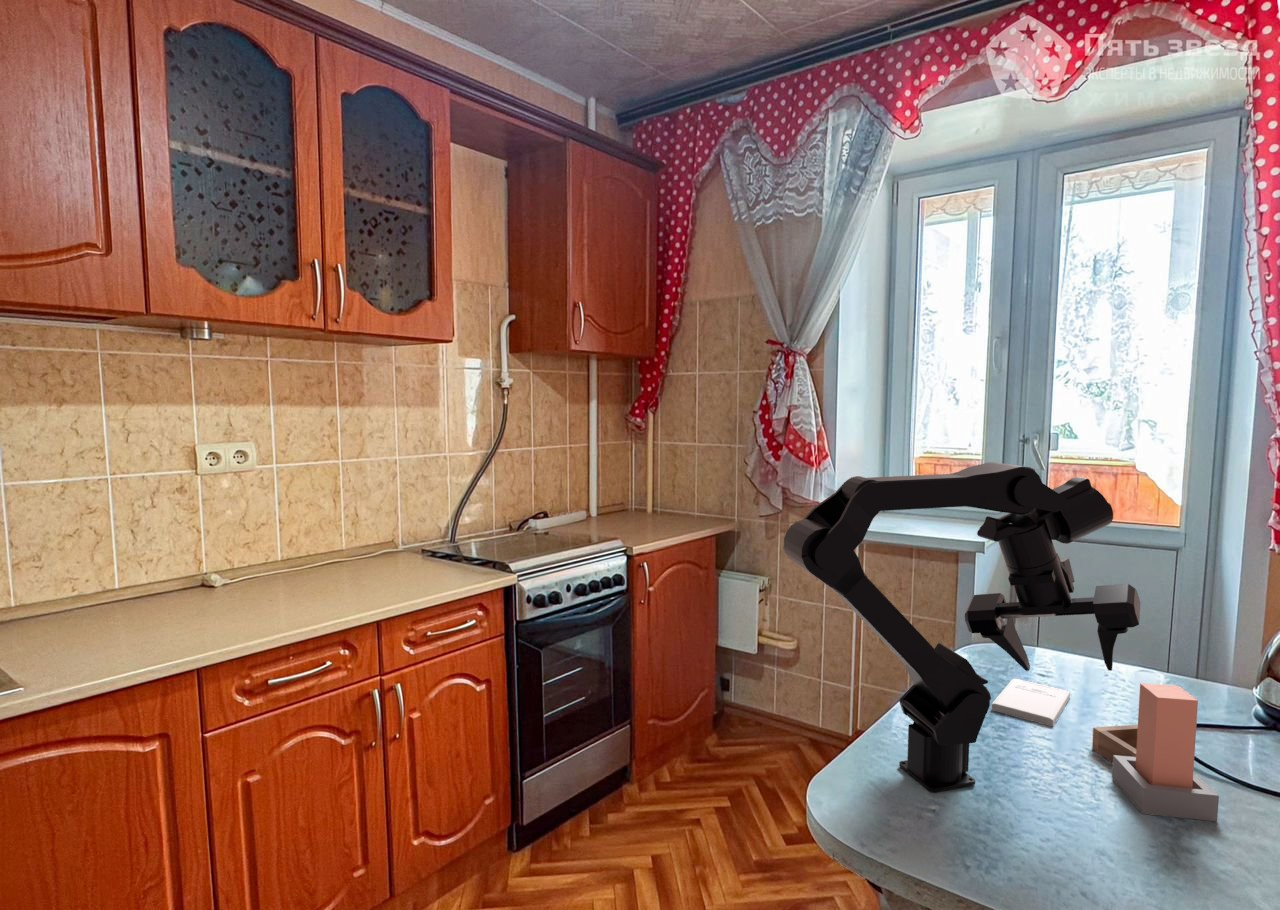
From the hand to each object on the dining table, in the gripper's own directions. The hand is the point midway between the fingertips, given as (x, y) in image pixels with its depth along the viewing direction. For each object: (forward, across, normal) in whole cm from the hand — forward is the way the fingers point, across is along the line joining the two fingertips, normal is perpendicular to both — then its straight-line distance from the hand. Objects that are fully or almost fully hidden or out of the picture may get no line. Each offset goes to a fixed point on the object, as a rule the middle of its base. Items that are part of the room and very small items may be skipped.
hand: (1067, 668), depth 88 cm
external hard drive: (+16, +10, -13) cm, 23 cm away
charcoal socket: (+14, -7, +5) cm, 16 cm away
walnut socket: (+16, -4, -3) cm, 16 cm away
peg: (+14, -7, +5) cm, 16 cm away
